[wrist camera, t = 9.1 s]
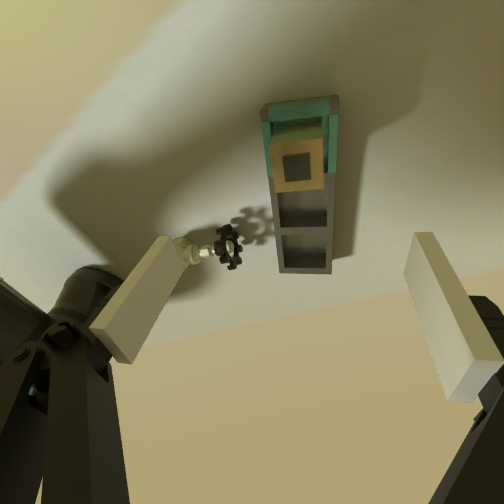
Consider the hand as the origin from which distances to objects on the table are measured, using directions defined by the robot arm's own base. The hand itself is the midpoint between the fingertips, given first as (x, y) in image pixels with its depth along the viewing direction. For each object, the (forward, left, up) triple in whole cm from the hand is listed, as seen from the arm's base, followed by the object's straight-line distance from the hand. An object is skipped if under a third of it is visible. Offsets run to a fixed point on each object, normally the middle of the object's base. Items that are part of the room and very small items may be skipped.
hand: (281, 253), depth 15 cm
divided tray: (0, -7, -20) cm, 22 cm away
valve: (-16, -14, -21) cm, 30 cm away
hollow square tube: (0, 0, -20) cm, 20 cm away
